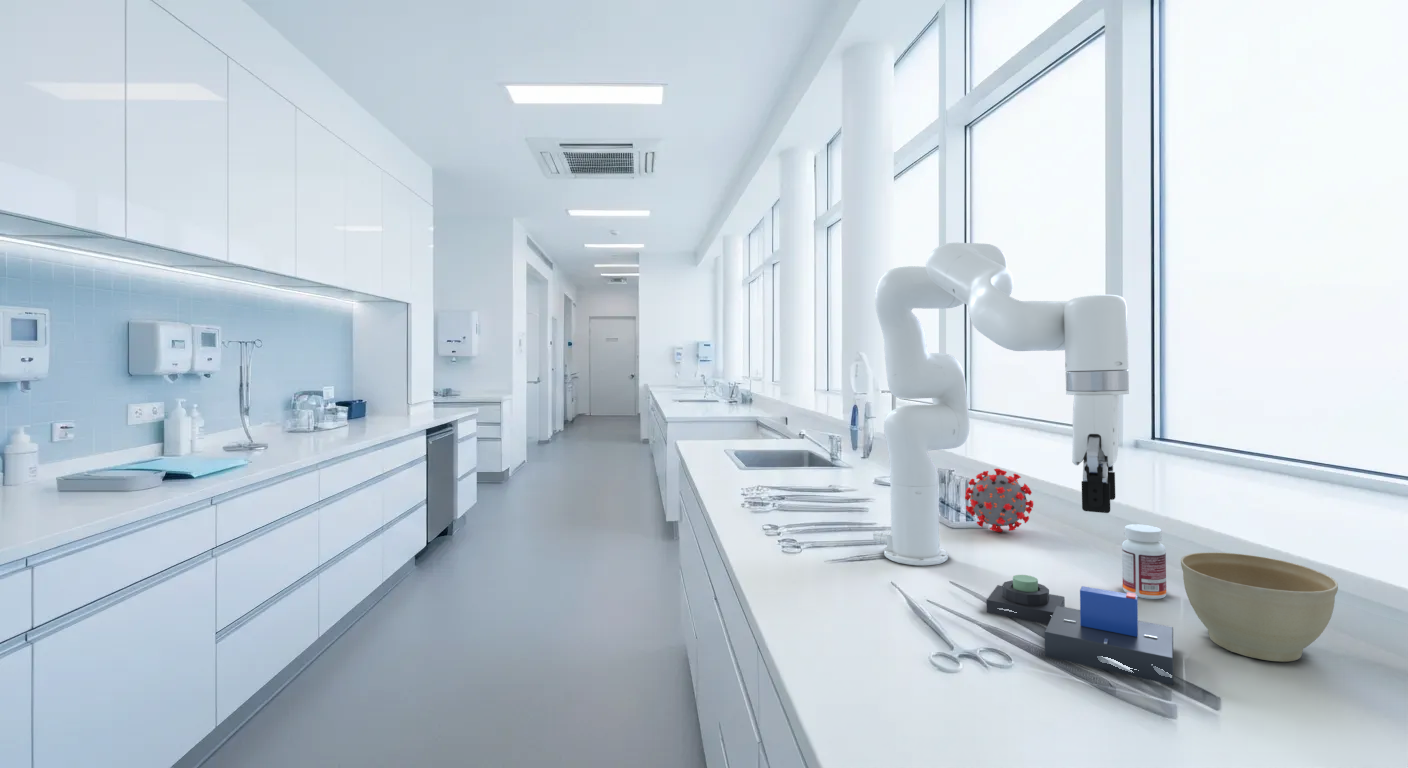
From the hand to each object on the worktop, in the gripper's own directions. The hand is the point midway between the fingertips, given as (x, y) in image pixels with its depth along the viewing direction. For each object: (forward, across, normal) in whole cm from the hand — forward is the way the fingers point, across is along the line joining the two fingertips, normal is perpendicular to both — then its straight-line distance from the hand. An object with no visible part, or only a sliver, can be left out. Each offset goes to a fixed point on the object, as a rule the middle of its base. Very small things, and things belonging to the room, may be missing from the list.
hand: (1099, 504), depth 88 cm
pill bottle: (+20, -26, +4) cm, 33 cm away
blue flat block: (+16, +3, +1) cm, 17 cm away
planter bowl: (+20, -10, +17) cm, 28 cm away
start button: (+16, -7, -11) cm, 21 cm away
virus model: (+19, -55, -25) cm, 63 cm away
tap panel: (+20, +3, +1) cm, 20 cm away
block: (+20, -7, -11) cm, 24 cm away
